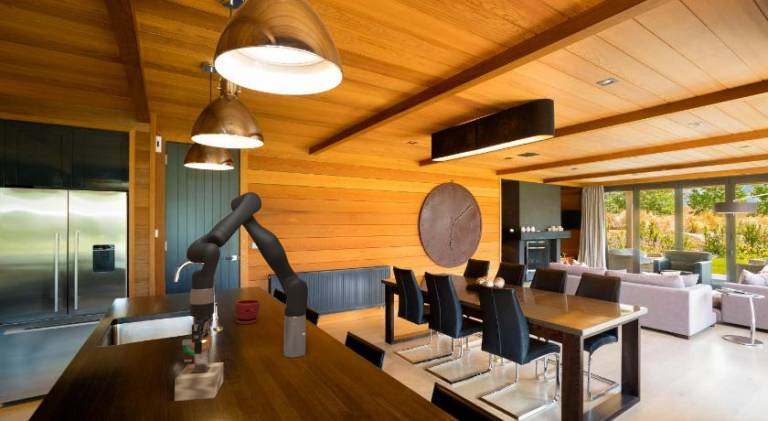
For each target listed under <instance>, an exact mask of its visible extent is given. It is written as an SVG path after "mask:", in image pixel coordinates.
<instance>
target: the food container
mask: <svg viewBox="0 0 768 421" xmlns="http://www.w3.org/2000/svg"><path fill="white" fill-rule="evenodd" d="M208 336H210V335H208ZM197 337H198V336H197ZM191 339H192V337H190V338H189V339H185V338H184V339H182V342H181V343H182V344H181V345H182V346H183V347H182V348H183V363H184V364H186V365H190V364H194V359H195V353H194V351H193V350H191Z"/></svg>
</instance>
